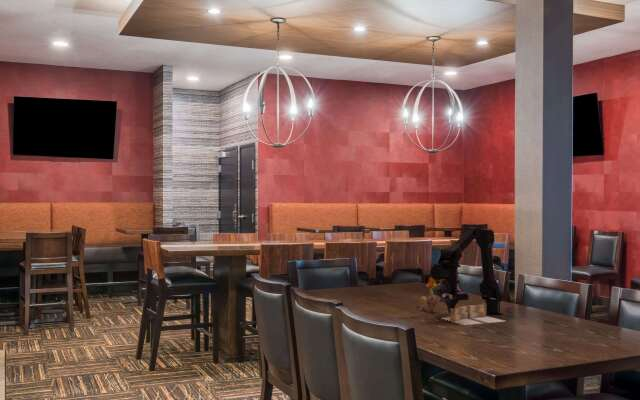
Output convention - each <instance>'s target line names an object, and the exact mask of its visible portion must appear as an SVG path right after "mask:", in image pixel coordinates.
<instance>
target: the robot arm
mask: <svg viewBox="0 0 640 400" xmlns="http://www.w3.org/2000/svg"><path fill="white" fill-rule="evenodd" d="M473 241H475V242H476V244H477V246H478V247H479V249H480V257H481V268H482V269H481V270H482V278H483V279H482V281H481V282H480V283H479V284H478V286H479V293H480V295H481V300H483V301H484V303H486V315H491V316H492V315H493V316H494V315H503V312H501V302H503V301H504V295H503V293H502V292H501V290H500V285H499V283H498V282H497V280H496V278H495V271H494V261H493V251H492V247H493V245H494V243H495V231H493V230H492V229H487V228H486V229H485V228H478V227H471V226H470V227H468V228H466V231H465V232H464V233H463V234H462V235H461V236H460V238H459V239H458V240H457V241H456V242H455V243H454V244H452V245H450V246H447V247H446V248H445V249H443V251H442V252H441V254H440V257H439V259H438V261H437V262H436V263H434V264H433V267H431V269H430V278H431V277H432V278H433V279H434V280H438V281H439V280H440V279H444V280H442V283H441V284H440V285H437V286H435V287H433V288H432V290H433V294H434V295H437V296H438V297H439V296H442V297H441V298H442V299H443V300H445V302H446V303H445V305H446V308H447V311H448V313H449V314H450V308H456V306H457V304H458V302H459V301H469V298H470V297H469V296H470V295H469V294H468V293H466V292H463V291H461V292H460V291H459V290H457V285H458V284H460V280H458V268H461V267H462V266H461V264H459V262H460V260H461V258H462V257H463V252H465V249H467V248H468V247H469V245H471V243H472V242H473Z"/></svg>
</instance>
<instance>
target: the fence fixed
mask: <svg viewBox="0 0 640 400" xmlns="http://www.w3.org/2000/svg"><path fill="white" fill-rule="evenodd" d="M486 316H487V314H486V303H485V302H481V304H475V305H469V318H474V317H486Z"/></svg>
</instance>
